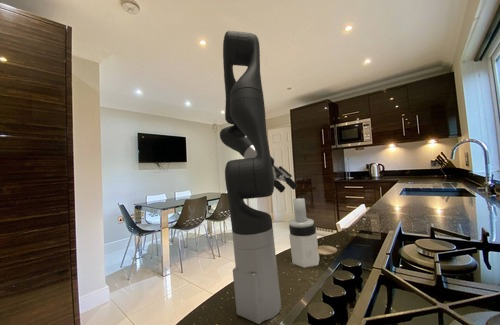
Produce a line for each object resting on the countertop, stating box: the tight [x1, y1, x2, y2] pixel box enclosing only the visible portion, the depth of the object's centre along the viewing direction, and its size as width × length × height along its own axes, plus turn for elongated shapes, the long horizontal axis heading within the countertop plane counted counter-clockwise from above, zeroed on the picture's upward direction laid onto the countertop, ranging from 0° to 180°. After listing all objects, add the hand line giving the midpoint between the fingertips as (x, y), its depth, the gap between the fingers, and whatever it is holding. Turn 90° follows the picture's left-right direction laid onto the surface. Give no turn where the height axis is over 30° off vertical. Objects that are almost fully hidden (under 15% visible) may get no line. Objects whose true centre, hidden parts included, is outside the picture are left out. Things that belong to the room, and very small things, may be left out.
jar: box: [288, 223, 320, 268], centre depth 66 cm, size 9×8×12 cm
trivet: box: [318, 245, 338, 255], centre depth 73 cm, size 8×8×1 cm
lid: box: [288, 197, 315, 228], centre depth 67 cm, size 8×8×8 cm
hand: (290, 189), depth 69 cm, fingers open, 8 cm apart
